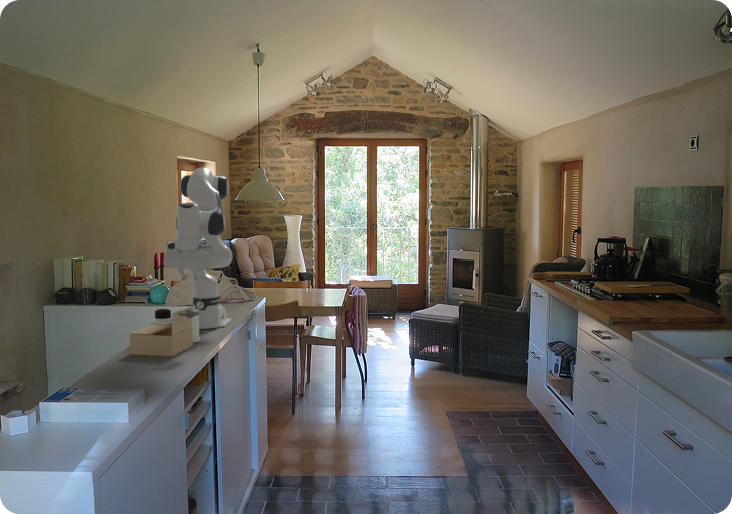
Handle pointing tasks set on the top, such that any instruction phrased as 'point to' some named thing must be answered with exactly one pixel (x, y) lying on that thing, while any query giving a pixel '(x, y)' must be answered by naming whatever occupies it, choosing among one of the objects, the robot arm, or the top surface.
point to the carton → (160, 341)
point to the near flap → (183, 319)
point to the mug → (195, 328)
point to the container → (162, 317)
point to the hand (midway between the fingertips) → (190, 279)
